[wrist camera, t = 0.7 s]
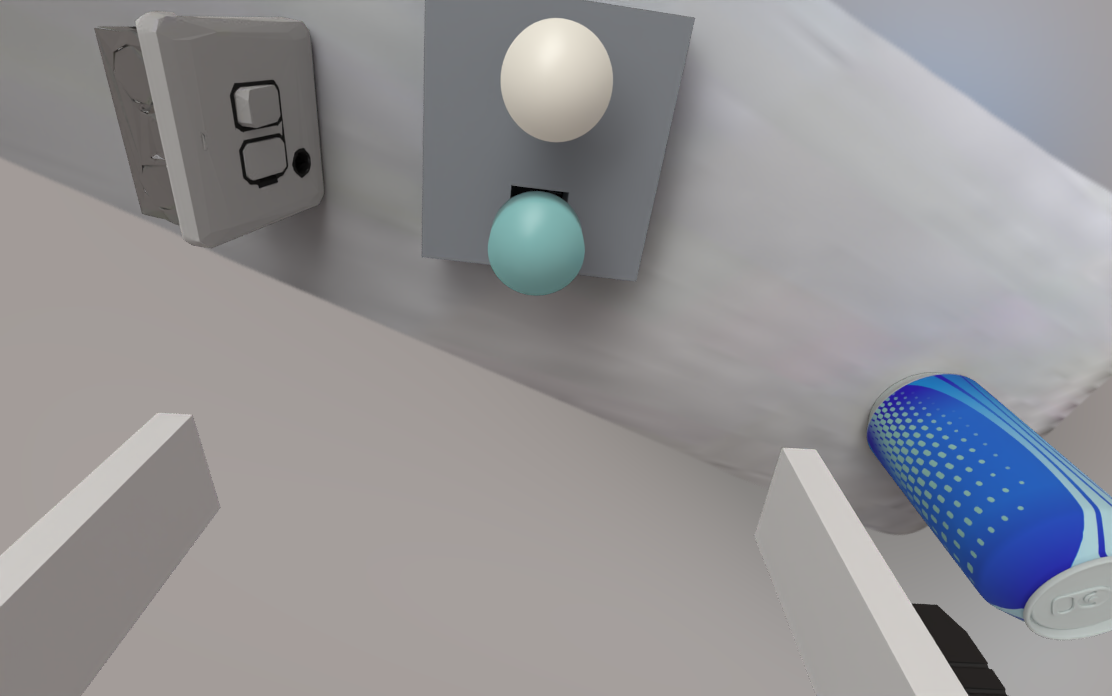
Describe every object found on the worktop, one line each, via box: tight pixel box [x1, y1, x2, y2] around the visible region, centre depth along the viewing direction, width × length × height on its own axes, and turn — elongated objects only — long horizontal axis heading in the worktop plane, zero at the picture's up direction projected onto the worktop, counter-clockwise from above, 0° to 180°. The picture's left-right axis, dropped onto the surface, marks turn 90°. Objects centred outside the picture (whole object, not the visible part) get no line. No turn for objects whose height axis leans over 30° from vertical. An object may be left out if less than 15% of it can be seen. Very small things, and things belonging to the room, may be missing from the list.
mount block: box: [422, 0, 695, 281], centre depth 30 cm, size 13×12×4 cm
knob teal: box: [488, 191, 585, 296], centre depth 28 cm, size 4×4×6 cm
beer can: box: [867, 373, 1112, 640], centre depth 35 cm, size 8×8×16 cm
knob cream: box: [501, 18, 613, 142], centre depth 24 cm, size 4×4×6 cm
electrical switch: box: [94, 11, 324, 248], centre depth 27 cm, size 9×5×9 cm, turn 173°
